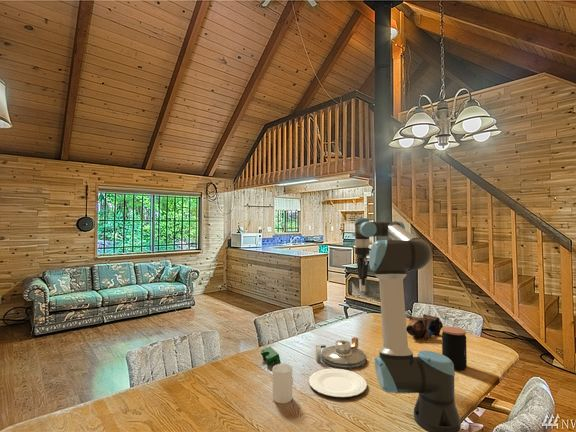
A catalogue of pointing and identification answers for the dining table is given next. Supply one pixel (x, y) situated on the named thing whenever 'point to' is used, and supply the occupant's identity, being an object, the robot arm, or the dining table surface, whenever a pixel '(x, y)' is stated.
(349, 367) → the turntable base
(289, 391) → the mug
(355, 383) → the plate
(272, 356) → the clamp
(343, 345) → the cover
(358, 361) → the turntable
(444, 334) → the coffee jar
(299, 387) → the dining table surface
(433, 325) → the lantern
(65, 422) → the dining table surface
